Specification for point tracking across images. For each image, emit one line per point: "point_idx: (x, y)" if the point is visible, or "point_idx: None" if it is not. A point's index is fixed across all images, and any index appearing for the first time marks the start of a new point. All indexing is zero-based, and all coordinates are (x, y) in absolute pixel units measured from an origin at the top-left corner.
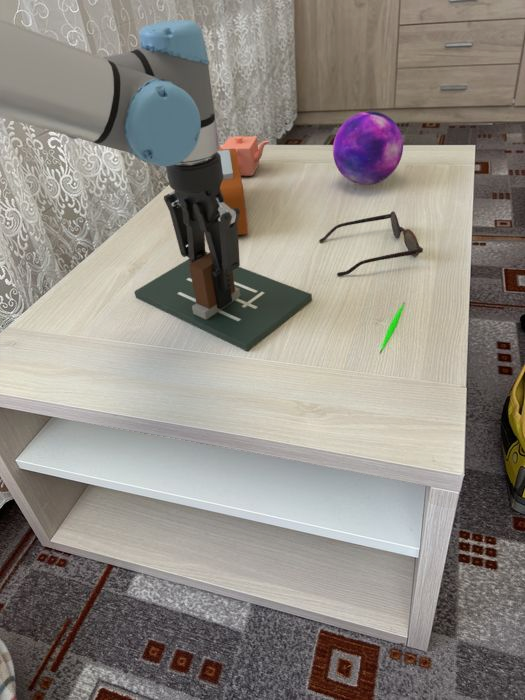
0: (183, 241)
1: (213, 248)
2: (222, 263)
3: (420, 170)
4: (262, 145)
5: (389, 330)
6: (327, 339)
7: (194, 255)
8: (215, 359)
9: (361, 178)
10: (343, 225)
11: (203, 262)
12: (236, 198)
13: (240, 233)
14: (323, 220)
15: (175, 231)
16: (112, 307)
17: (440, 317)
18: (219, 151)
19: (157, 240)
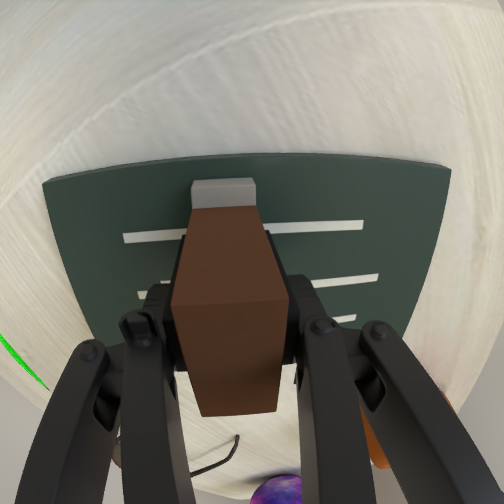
0: (393, 390)
1: (125, 445)
2: (92, 376)
3: (249, 489)
4: None
5: (4, 345)
6: (16, 296)
7: (306, 357)
8: (78, 106)
9: (274, 486)
10: (223, 460)
11: (233, 347)
12: (380, 451)
13: None
14: (273, 449)
15: (450, 411)
16: (454, 111)
17: (16, 379)
18: None
19: (473, 312)
